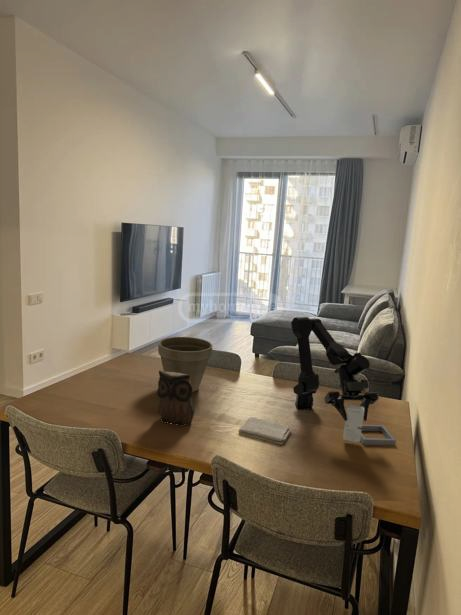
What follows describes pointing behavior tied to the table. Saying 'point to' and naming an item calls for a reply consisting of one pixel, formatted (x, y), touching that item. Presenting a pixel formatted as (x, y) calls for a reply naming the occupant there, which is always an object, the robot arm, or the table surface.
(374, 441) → the socket
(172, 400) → the owl
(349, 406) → the skincare box
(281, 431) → the washcloth
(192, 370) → the plant pot
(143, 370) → the table surface
